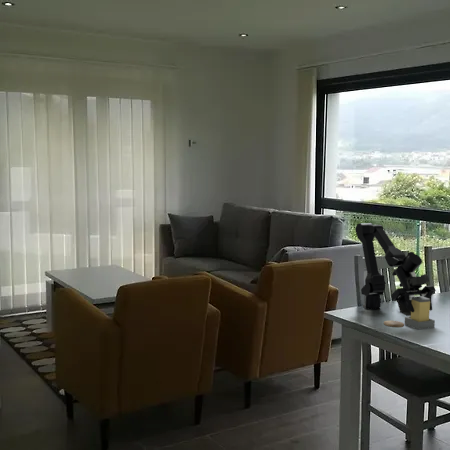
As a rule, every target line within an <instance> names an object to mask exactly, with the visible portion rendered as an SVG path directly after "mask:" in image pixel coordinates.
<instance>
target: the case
mask: <svg viewBox="0 0 450 450" xmlns="http://www.w3.org/2000/svg"><path fill="white" fill-rule="evenodd" d="M404 325H405V326H408V327H411V328H413V329H416V330H427V329H433V328H435V325H436V324H435V319H432V318H429V321H422V322H418V321H415V320H413V319H411V316H404Z"/></svg>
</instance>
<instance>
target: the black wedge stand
mask: <svg viewBox="0 0 450 450" xmlns="http://www.w3.org/2000/svg"><path fill="white" fill-rule="evenodd" d="M410 301H411V303H412V300H410ZM397 305H398V310H399V312H400V313H401V314H403V315H404V316H405V317H410V316H411V311H410V310H409V309H407V308H406V307H405V306H403V305H402V304H400V303H399V302H397Z"/></svg>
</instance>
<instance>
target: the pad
mask: <svg viewBox="0 0 450 450" xmlns="http://www.w3.org/2000/svg"><path fill="white" fill-rule="evenodd" d="M383 325H385V326H386V327H387V326H388V327H391V328H402V327H404V326H405V322H404V323H403V322H401V321H397V320H384V321H383Z"/></svg>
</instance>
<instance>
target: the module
mask: <svg viewBox="0 0 450 450" xmlns="http://www.w3.org/2000/svg"><path fill="white" fill-rule="evenodd" d="M412 306H413V308H414V312H411V319H413V320H415V321H418V322H422V321H429V319H430V299H429V298H426V297H423V296H420V295H417V296H414V297H412Z"/></svg>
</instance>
